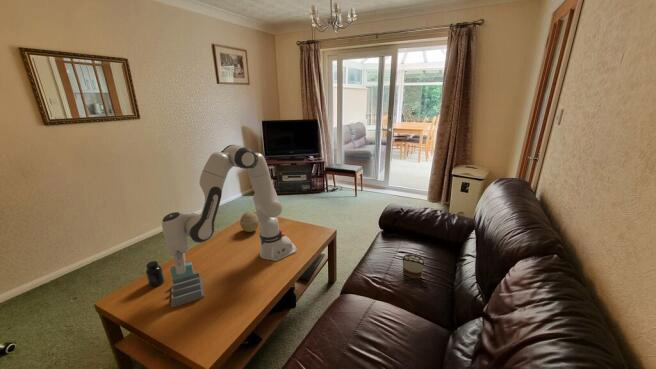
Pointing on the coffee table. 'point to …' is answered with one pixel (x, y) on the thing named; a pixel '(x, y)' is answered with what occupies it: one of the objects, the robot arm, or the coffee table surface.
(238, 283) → the coffee table surface
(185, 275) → the teal upright panel
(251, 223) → the fossilized egg
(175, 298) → the rack
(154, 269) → the supplement bottle
